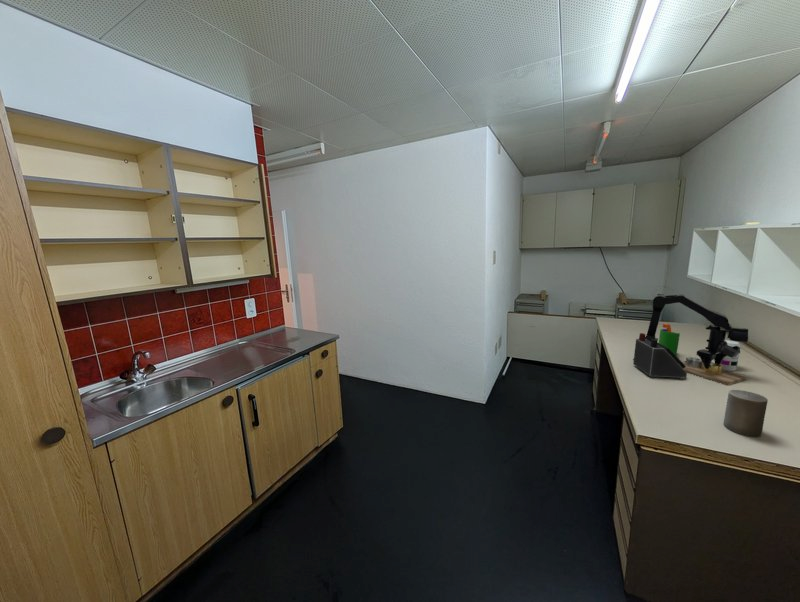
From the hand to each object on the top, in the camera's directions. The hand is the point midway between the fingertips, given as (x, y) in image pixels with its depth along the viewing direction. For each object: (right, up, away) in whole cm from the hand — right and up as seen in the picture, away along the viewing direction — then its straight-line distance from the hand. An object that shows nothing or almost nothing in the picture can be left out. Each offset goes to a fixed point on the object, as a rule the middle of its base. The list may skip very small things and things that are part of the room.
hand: (712, 367), depth 160 cm
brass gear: (0, -2, 0) cm, 2 cm away
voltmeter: (-24, -4, +4) cm, 25 cm away
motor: (0, +1, +27) cm, 27 cm away
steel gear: (-2, -1, +7) cm, 8 cm away
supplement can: (+15, -2, +7) cm, 17 cm away
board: (-1, -4, +2) cm, 4 cm away
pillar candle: (-35, -14, -45) cm, 59 cm away
